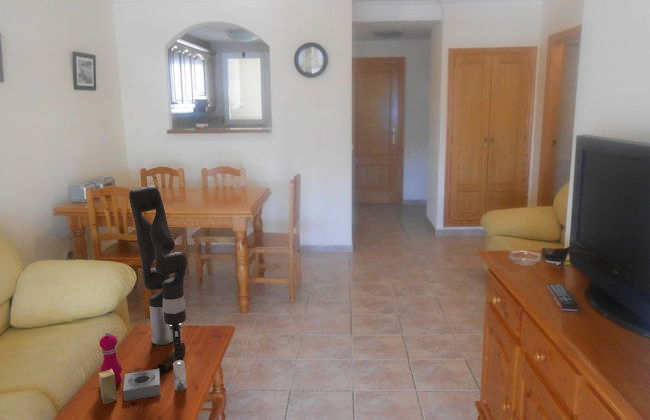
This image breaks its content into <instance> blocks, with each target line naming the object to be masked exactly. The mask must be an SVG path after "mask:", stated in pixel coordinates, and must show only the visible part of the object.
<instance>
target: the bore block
mask: <svg viewBox="0 0 650 420" xmlns="http://www.w3.org/2000/svg"><path fill="white" fill-rule="evenodd" d="M160 374H161V373H159V369H157V368H155V369H148V370H142V371H136V372H130V373H125V374H124V377H123V378H124V380H123V389H122V392H123V402H129V401H134V400H139V399H146V398H150V397H157V396H161V375H160Z"/></svg>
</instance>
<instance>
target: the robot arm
mask: <svg viewBox="0 0 650 420" xmlns="http://www.w3.org/2000/svg"><path fill="white" fill-rule="evenodd" d="M128 198H129V205H130V208H131V212H132V216H133V220H134V226H135V231H136V232H135V233H136V239H137V246H138V250H139V256H140V261H141V271H142V279H143V285H144V288H145V289H146V290H150V291H153V290H154V291H155V290H161V291H160V292H157V293H156V294H154V295H151V296H150V297H149V299H148V306H149V316H150V328H151V340H152V344H154V345H157V346H163V345H164V346H165V345H168V344H170V343H172V342H173V343H172V344H173V345H172V346H173V349H174V350H173V352H174V353H175V357H180V358H182V357H181V346H182V345H181V343H182V339H183V338H182V337H183V335H182V332H183V329H182V328H183V326H182V323H184V322H186V320H187V312H186V311H187V310H186V300H185V294H184V279H185V274H186V272H187V265H188V259H187V256H186V255H185V254H184V252H182V251H175V252H174V250H175V246H176V245H175V241H174V238H173V235H172V234H171V231H170V228H169V224H168V219H167V214H166V211H165V207H164V204H163V203H164V202H163V199H162V195H161V193H160V190H159V188H158V187H157V185H148V186H142V187H138V188H133V189H131V190H129V194H128ZM154 210H155V216H154V218H153V221H152V222H150V221H149V220H148V219H147V218H146V217H145V216H144V215H143V213H145V212H150V211H154ZM153 264H154V267H152V266H153ZM171 274H173V275H172V276H171Z"/></svg>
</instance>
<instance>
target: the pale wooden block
mask: <svg viewBox="0 0 650 420" xmlns="http://www.w3.org/2000/svg"><path fill="white" fill-rule="evenodd" d="M98 380H99V388H100V389H99V390H100V397H101V398H100V399H101V401H102V404H103V405H107V404H111V403H114V402H117V401H118V393H117V384H116V382H115V374H114V372H113V370H112V369H110V370H106V371H103V372H101V371H100V372H99V371H98Z"/></svg>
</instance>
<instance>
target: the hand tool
mask: <svg viewBox="0 0 650 420" xmlns="http://www.w3.org/2000/svg"><path fill="white" fill-rule="evenodd" d="M181 345H182V346H181V357H175V353H174V351H173V352H172V353H170V354H169V356H167V357H166V358H165V359H164V360H163V361H162V362H160V363H159V364H157V368H156V369H159V373H160V374H166V373H167V372H168V371H169V369H170V368H171V366H173V363H174V362H175V361H178V360H179V359H180V358H182V357H183V356H184V355H185V352H186V344H185V343H184V342H181Z"/></svg>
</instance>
